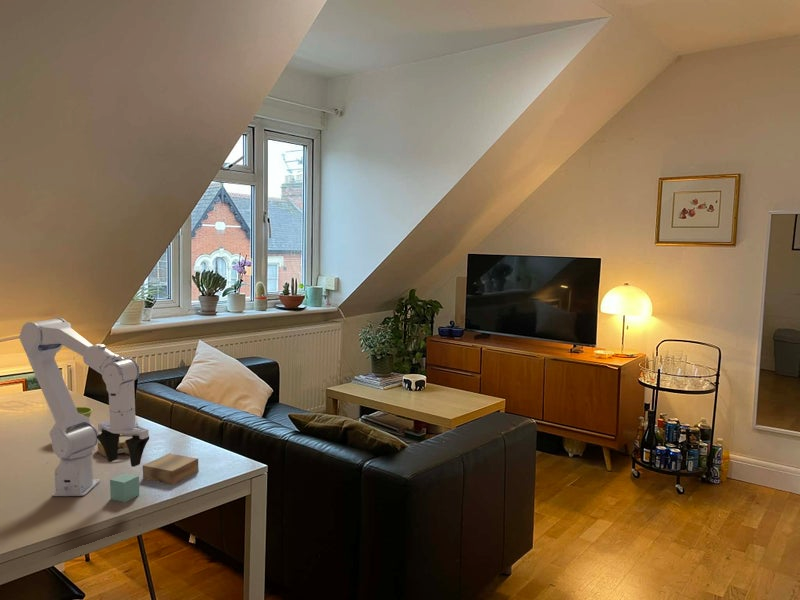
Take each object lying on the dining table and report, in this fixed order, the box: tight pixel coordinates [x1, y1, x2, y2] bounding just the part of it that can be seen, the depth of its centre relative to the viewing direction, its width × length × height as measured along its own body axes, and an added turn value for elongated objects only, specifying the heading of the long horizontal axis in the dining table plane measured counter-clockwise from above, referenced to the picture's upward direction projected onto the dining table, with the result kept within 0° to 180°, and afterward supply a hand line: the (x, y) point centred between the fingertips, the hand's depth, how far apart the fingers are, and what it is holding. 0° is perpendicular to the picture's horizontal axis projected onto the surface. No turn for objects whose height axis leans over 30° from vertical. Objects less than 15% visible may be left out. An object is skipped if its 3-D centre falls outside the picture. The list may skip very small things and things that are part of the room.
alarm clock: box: [97, 434, 132, 458], centre depth 184 cm, size 11×5×15 cm
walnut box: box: [142, 452, 199, 485], centre depth 167 cm, size 10×10×4 cm
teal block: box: [109, 472, 140, 503], centre depth 152 cm, size 5×5×5 cm
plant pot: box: [66, 406, 93, 431], centre depth 196 cm, size 9×9×9 cm
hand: (124, 462), depth 152 cm, fingers open, 7 cm apart
